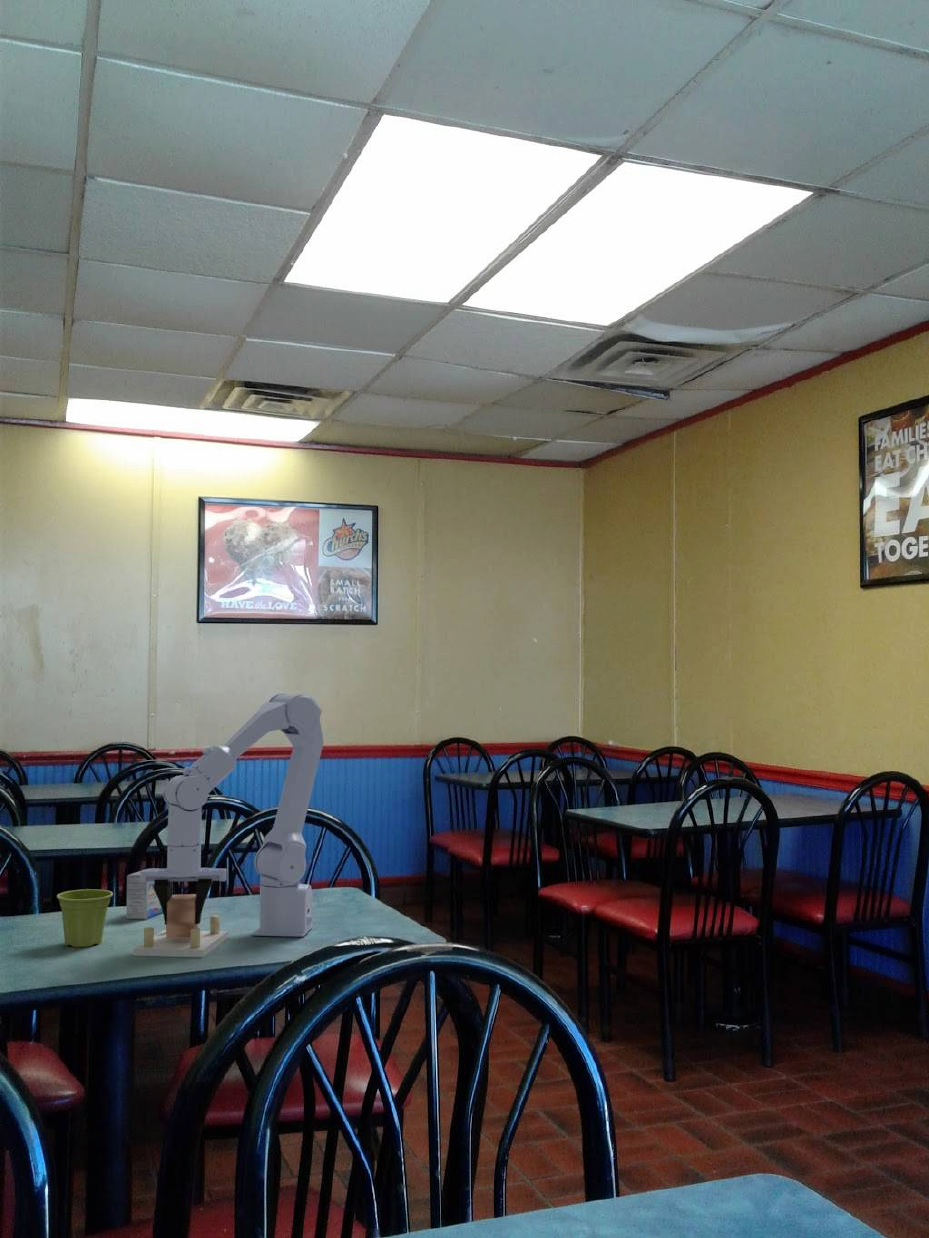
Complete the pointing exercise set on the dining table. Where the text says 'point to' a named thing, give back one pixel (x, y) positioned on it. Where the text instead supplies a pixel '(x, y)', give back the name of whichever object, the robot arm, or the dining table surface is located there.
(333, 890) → the dining table surface
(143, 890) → the medicine box
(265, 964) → the dining table surface
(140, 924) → the dining table surface
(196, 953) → the standoff plate
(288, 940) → the dining table surface
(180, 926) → the board block
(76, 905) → the plant pot
